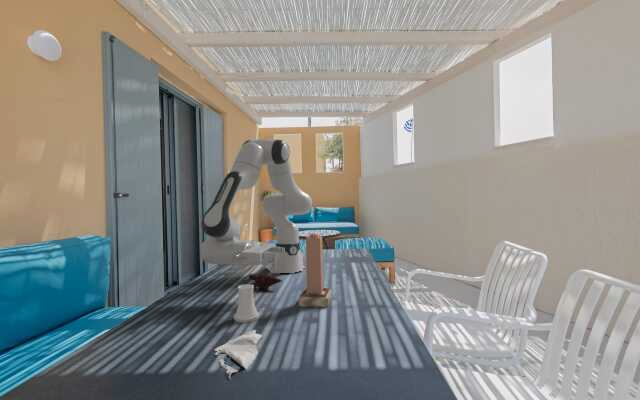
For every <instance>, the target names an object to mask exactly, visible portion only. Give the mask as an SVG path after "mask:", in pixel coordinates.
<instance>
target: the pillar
mask: <svg viewBox="0 0 640 400" xmlns="http://www.w3.org/2000/svg"><path fill="white" fill-rule="evenodd" d="M323 252H324V251H323V236H322V235H319V233H310V234H309V235H308V236H306V237H305V254H306V255H305V258H306V259H305V260H306V266H305V269H306V288H307V294H322V293H323V288H324V264H323V263H324V260H323V257H324V256H323V255H324V254H323Z"/></svg>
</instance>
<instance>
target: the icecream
mask: <svg viewBox="0 0 640 400" xmlns="http://www.w3.org/2000/svg"><path fill="white" fill-rule="evenodd" d="M248 278H249V280H252V281H254V282H251V283H250V284H251V285H254V288H253V289H255V288H258V289H259V290H266V291H267V290H268V289H269V288H270V287H271V286H274V285H276V284H278V283H281V282H282V279H281V278H277V277H276V276H275V277H274V276H272V275H269V273H268V272H262V273H259V274H257V275H256V274H254V273H250V274H249V275H248Z"/></svg>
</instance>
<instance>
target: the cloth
mask: <svg viewBox="0 0 640 400" xmlns="http://www.w3.org/2000/svg"><path fill="white" fill-rule="evenodd" d="M256 332H257V330H256V329H253V330H251V331H248V332H247V333H245V334H242V335H239V336H238V337H235V338H234V339H231V340H229V341H227V342H225V343H224V344H223V345H220V346H218V347H216V348H215V349H214V350H215V351H217V352H216V353H215V351H214V350H213V351H214V356H215V355H218V354H227V355H228V357H230V358H231V359H232V360H233V361H234V362H235V363H236V364H237V365H239V366H241V368H243V369H244V370H246V369H247V368H248V366H249V365H250V364H253V362H254V361H255V360H256V357H257V356H258V355H259V354H258V353H259V352H258V347H257V344H258V342H259V341H260V340H261V338H262V337H263V336H264V335H262V334H260V333H256ZM227 349H228V350H227ZM219 350H220V351H219ZM257 354H258V355H257ZM256 355H257V356H256ZM218 358H221V357H220V356H218ZM254 359H255V360H254ZM253 360H254V361H253ZM252 361H253V362H252ZM219 362H220V363H221V365H220V366H221V368H222V367H223V368H225V369H226V370H227V371H226V373H227V374H229V376H228V379H229V380H230V379H231V375H232V374H233V373H238V371H240V369H238V370H236V369H234V368H233V367H231V366H228V365H225V364H224V362H225V361H224V359H223V358H221V360H219ZM219 362H218V363H219ZM249 367H250V366H249ZM223 368H222V369H223ZM248 369H249V368H248ZM248 369H247V370H248ZM226 373H225V374H226ZM227 374H226V375H227Z"/></svg>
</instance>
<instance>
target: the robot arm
mask: <svg viewBox="0 0 640 400" xmlns="http://www.w3.org/2000/svg"><path fill="white" fill-rule="evenodd" d="M290 152H291V151H290V146H289V145H288V143H287V142H286V141H285V140H282V139H272V138H263V139H262V138H261V139H248V140H245V142H244V143H243V144H242V145H241V148H240V150H239V151H238V153H237V154H236V157H235V160H234V161H233V165H232V167H231V170H230V171H229V172H228V173H227V174H226V176H225V177H224V179H223V180H222V183H221V185H220V187H219V189H218V191H217V193H216V196H215V197H214V199H213V201H212V204H211V205H210V207H208V208H207V210H206V211H205V212H204V214H203V216H202V218H201V220H200V221H201V222H200V227H201V229H202V231H203V232H204V234H206V236H208V237H207V239H205V240H204V241H203V242H202V243H201V245H200V249H199V251H200V252H199V253H200V256H201V259H202V260H203V261H204V262H205V263H206V264H207V263H208V264H210V265H212V264H213V265H228V264H232V265H236V266H237V265H241V266H242V265H244V266H245V265H250V264H251V263H252V264H259V263H261V262H263V261H264V260H268V263H269V265H265V269H266V268H267V269H268V270H269V271H270V272H271V273H270V272H269V271H268V270H267V269H266V270H267V271H268V272H269V273H270V274H280V273H290V274H296V273H295V272H298V273H300V272H299V271H301V272H303V271H304V269H303V268H305V269H306V266H304V260H303V253H302V252H301V250H300V249H301V244H300V237H299V236H300V235H299V234H300V232H299V231H300V230H299V227H298V225H297V224H296V223H294V222H292V221H290V219H289V217H288V216H302V215H305V214H309V213H310V212H311V210H312V208H313V199H312V197H311V196H310V195H309V193H307V192H304V191H303V190H302V189H301V188H300V187H299V186H298V185H297V183H296V181H295V178H294V175H293V171H292V170H293V169H292V166H291V161H290V154H291V153H290ZM263 165H266V167H267V168H266V169H267V173H268V177H269V181H270V185H271V187H272V188H273V189H274V190H275V191H278V193H271V194H267V195H265V196H264V197H263V198H262V202H261V208H262V209H263V212H264V213H265V214H266V215H267V216H269V217H270V219H271V220H272V222H273V224H274V227H275V235H276V243H273V242H266V241H265V242H264V241H256V240H249V239H246V240H243V239H241V240H240V238H241V234H242V227H241V224H240V223H239V221H237V220H236V219H235V218H234V217H232V216H231V215H230V209H231V206H232V204H233V202H234V200H235V198H236V196H237V193H238V192H239V191H240V190H249V189H251V188H253V187H255V186H256V184H257V182H258V181H259V177H260V174H261V171H262V169H263V168H262V167H263ZM302 270H303V271H302Z"/></svg>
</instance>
